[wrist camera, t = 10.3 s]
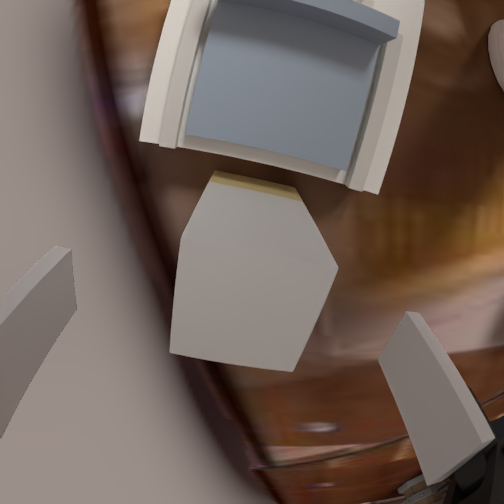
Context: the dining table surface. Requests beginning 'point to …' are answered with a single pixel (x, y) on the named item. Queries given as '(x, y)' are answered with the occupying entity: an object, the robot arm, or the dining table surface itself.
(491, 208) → the dining table surface
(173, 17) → the socket
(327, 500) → the dining table surface
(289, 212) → the plug
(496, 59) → the bottle
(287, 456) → the dining table surface
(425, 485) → the tankard
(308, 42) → the shutter
